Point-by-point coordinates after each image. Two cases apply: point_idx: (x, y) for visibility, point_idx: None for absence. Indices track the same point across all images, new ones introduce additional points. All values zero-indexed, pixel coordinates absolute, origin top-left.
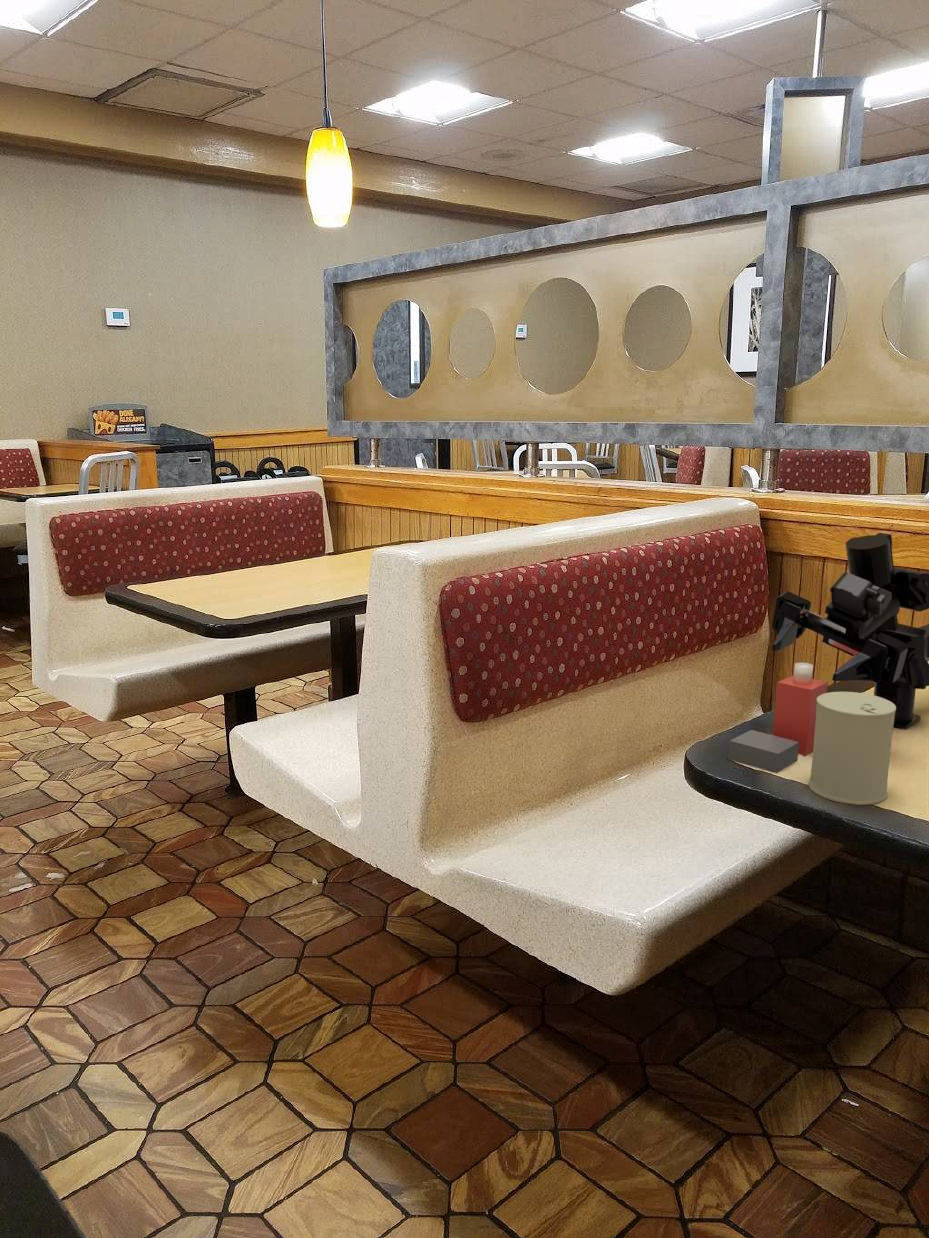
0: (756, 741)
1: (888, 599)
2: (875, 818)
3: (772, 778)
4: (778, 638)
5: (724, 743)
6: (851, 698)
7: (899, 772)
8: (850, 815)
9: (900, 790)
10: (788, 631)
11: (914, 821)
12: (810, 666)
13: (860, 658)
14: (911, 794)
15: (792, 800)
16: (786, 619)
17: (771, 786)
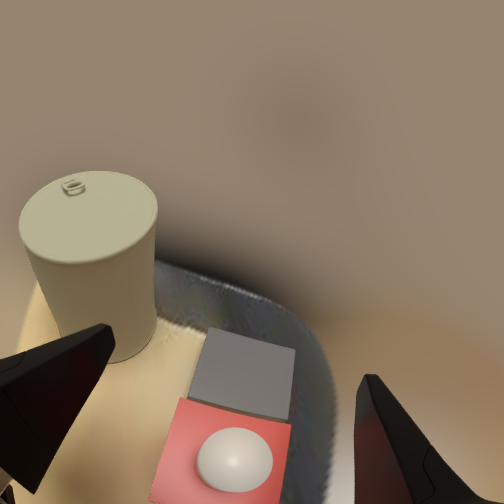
0: (257, 365)
1: None
2: None
3: (206, 321)
4: (386, 397)
5: (317, 424)
6: (86, 228)
7: None
8: None
9: (40, 334)
10: (392, 460)
11: None
12: (207, 447)
13: (3, 368)
14: (30, 325)
15: (172, 268)
16: (464, 497)
17: (202, 297)
